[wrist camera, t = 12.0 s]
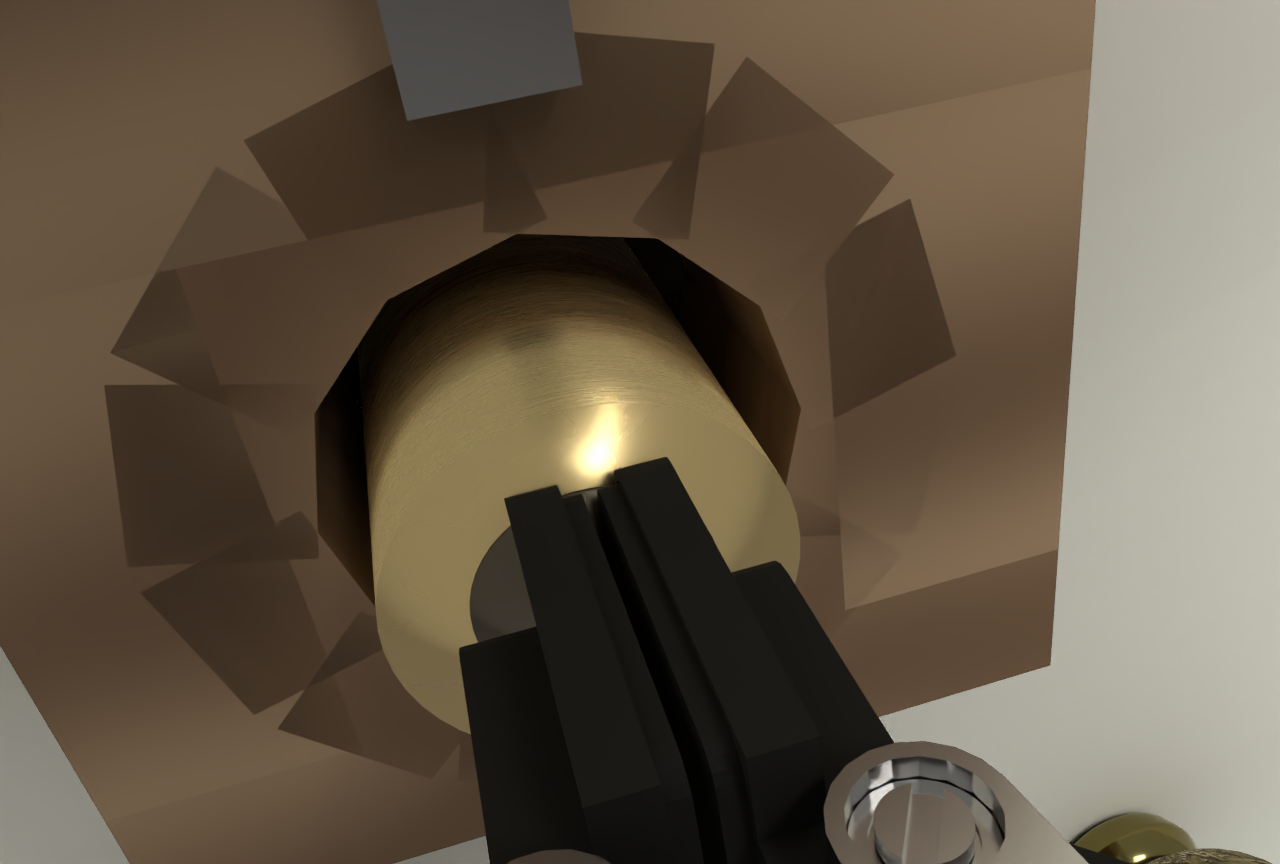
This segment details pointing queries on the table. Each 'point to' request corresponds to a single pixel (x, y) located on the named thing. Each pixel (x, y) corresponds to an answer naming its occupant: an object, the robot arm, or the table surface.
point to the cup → (1154, 843)
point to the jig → (443, 237)
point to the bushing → (533, 438)
